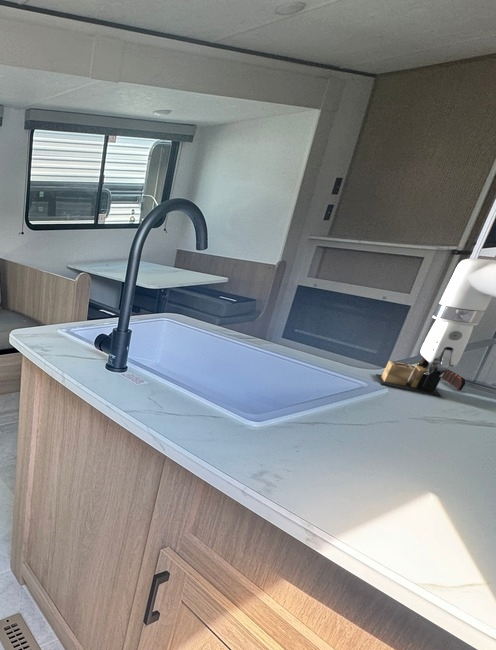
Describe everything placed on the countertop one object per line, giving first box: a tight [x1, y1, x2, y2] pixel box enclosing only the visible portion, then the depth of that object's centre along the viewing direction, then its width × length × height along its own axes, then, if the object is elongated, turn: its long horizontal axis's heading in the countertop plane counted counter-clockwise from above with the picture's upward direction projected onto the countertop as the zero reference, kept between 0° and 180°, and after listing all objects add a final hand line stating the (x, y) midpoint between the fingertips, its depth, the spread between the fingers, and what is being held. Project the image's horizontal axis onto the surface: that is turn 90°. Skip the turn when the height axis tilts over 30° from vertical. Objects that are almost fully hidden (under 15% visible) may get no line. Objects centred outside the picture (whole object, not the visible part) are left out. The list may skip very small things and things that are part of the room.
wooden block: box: [381, 360, 414, 385], centre depth 107 cm, size 4×4×5 cm
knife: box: [433, 365, 466, 392], centre depth 112 cm, size 17×1×3 cm, turn 159°
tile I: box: [408, 365, 433, 388], centre depth 105 cm, size 4×4×5 cm
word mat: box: [375, 373, 442, 398], centre depth 107 cm, size 11×8×1 cm
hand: (421, 385), depth 105 cm, fingers open, 5 cm apart
